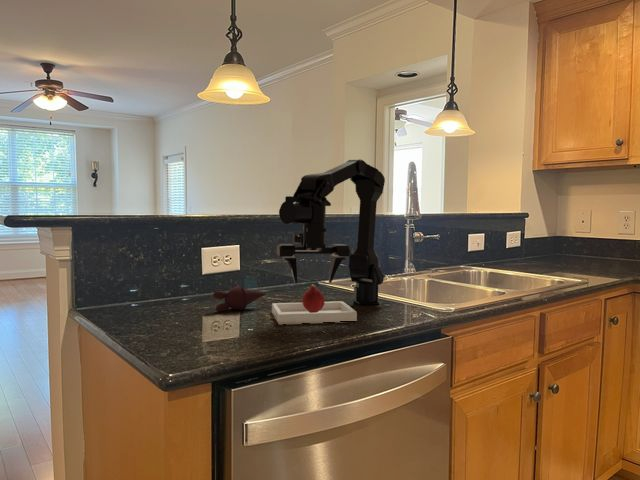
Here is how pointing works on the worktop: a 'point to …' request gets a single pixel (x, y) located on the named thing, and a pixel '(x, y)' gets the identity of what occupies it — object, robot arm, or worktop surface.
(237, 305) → the dark red toy figure
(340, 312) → the tray
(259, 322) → the worktop surface
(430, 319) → the worktop surface
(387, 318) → the worktop surface
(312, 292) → the onion
